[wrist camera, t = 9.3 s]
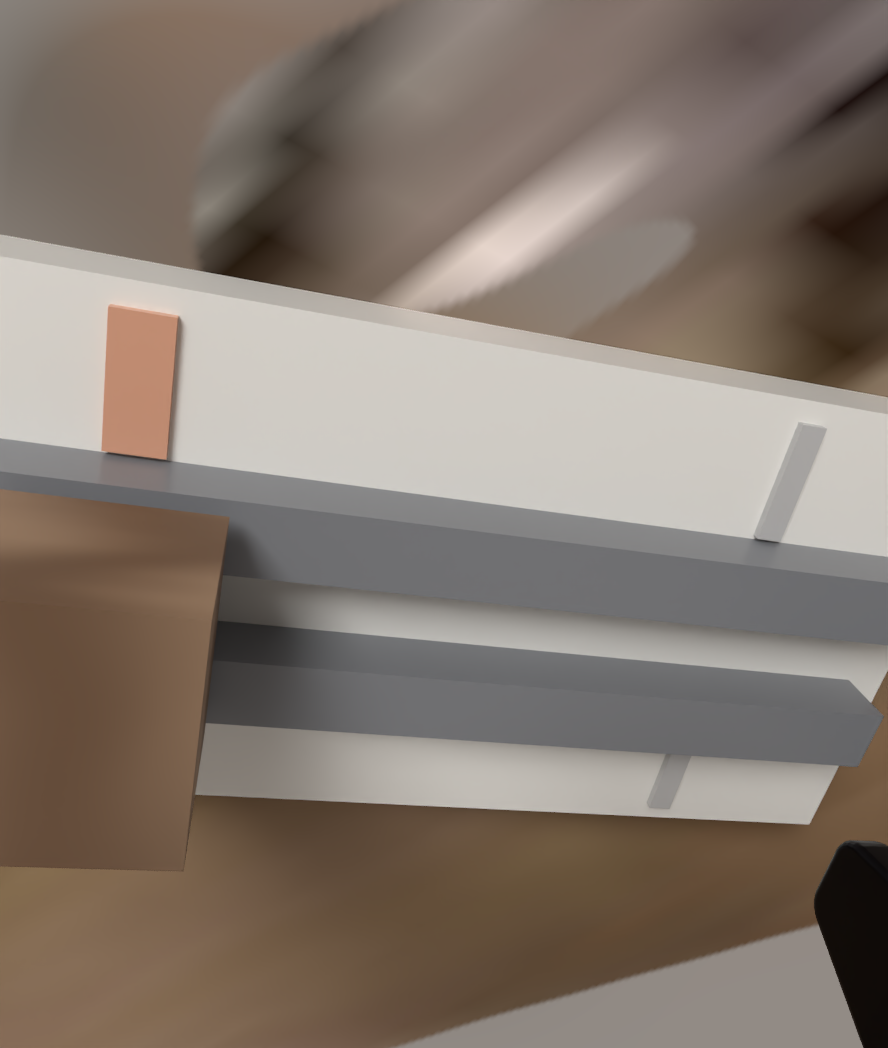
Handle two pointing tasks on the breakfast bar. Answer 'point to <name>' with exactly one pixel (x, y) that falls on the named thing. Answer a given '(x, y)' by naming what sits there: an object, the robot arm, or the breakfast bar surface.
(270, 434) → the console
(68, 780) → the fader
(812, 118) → the breakfast bar surface
